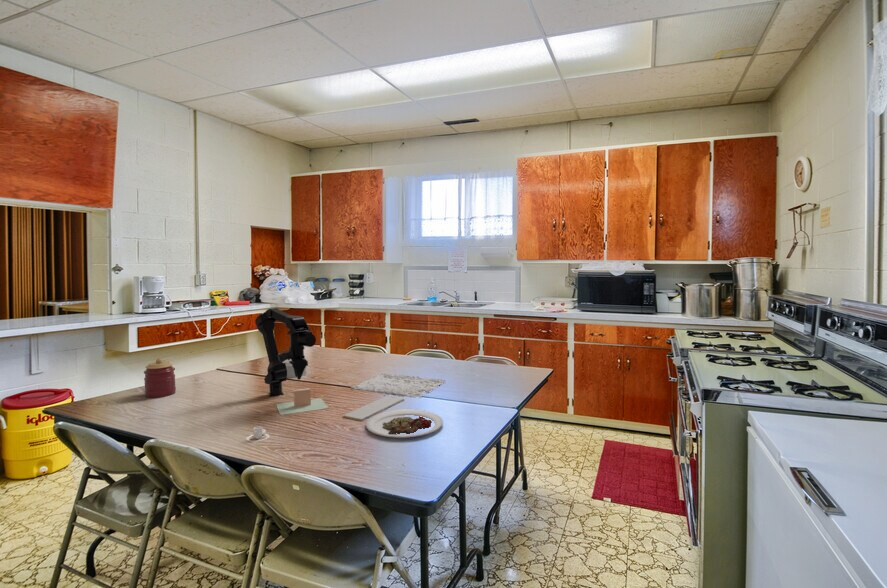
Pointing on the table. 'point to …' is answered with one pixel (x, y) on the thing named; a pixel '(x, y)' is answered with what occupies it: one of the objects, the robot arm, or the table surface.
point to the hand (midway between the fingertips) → (297, 378)
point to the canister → (159, 379)
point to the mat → (301, 407)
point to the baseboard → (373, 408)
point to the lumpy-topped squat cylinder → (292, 370)
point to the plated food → (402, 423)
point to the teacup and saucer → (258, 434)
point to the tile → (302, 397)
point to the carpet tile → (399, 385)
